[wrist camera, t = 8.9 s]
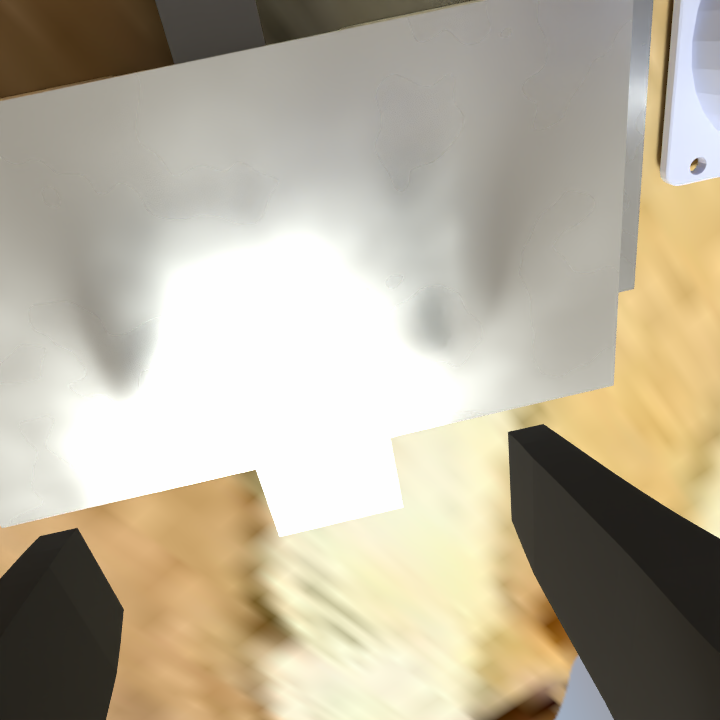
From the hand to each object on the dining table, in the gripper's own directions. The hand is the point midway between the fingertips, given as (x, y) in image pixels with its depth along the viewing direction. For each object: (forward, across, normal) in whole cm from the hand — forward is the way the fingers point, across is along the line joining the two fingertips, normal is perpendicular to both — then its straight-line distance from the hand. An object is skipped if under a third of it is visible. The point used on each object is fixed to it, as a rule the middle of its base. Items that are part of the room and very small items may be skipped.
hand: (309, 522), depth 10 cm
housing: (+10, 0, -3) cm, 11 cm away
